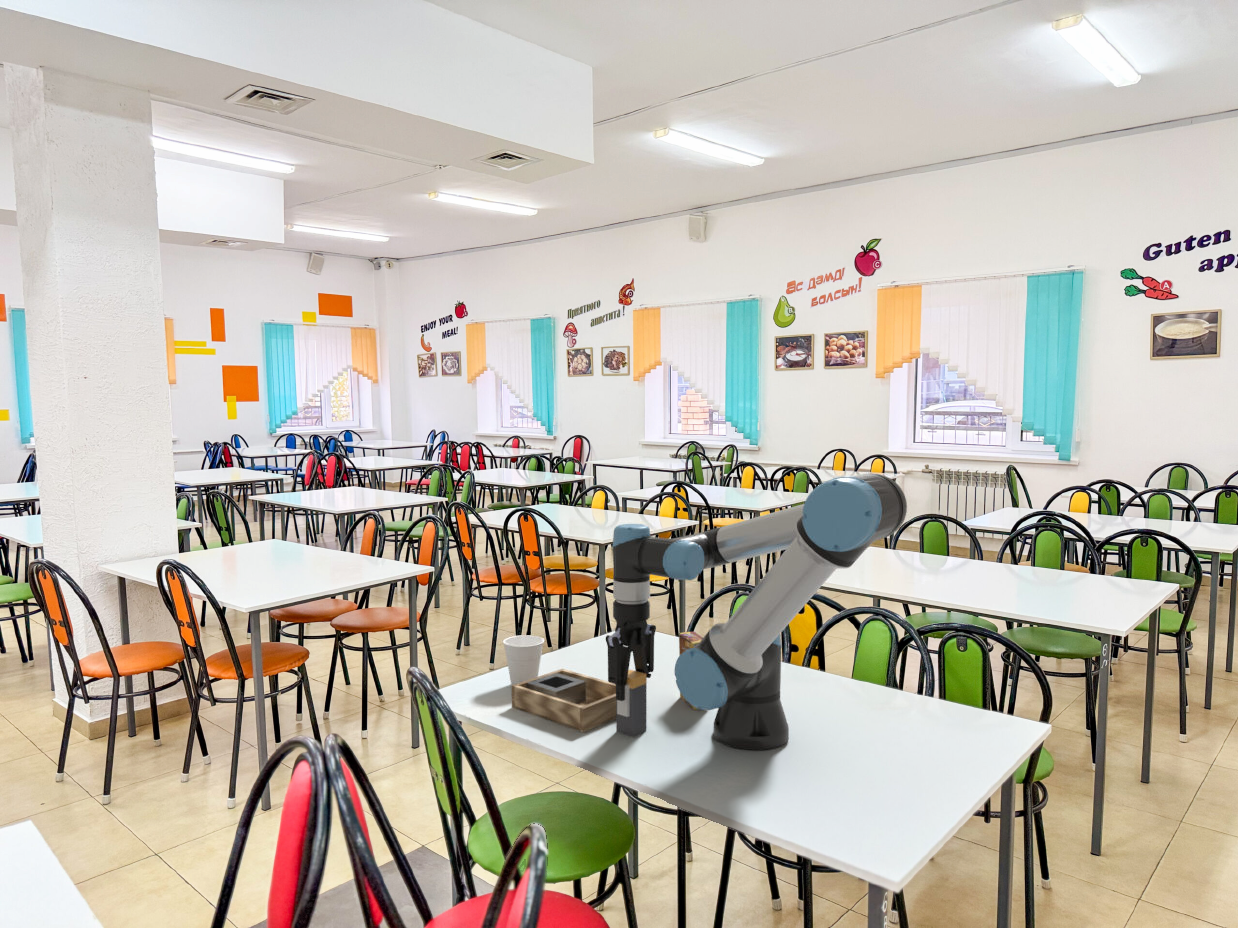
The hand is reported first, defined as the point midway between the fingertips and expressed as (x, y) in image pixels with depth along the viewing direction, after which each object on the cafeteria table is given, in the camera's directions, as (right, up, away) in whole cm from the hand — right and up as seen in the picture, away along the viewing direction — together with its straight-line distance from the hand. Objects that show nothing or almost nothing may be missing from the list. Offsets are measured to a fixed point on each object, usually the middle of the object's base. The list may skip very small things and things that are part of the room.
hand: (631, 711), depth 175 cm
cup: (-25, -2, +29) cm, 39 cm away
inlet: (-17, -3, +16) cm, 23 cm away
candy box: (+14, -3, +17) cm, 22 cm away
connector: (0, -4, 0) cm, 4 cm away
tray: (-13, -3, +13) cm, 19 cm away
